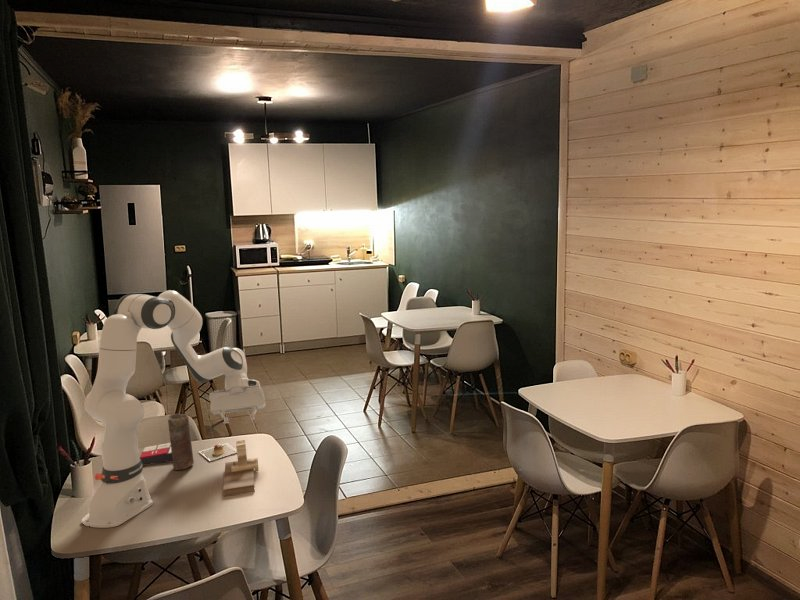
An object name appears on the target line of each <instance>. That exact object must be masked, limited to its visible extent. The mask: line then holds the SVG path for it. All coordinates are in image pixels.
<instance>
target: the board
mask: <svg viewBox="0 0 800 600" xmlns="http://www.w3.org/2000/svg"><path fill="white" fill-rule="evenodd" d="M248 459H249V458H247V460H248ZM235 461H236V460H235ZM235 461H227V462H225V463H224V464H225V465H224V475H223V476H224V477H223V488H222V490H223V497H230V496H237V495H244V494H248V493H255V491H256V490H255V489H254V488H255V469H248V470H242V471H235V472H232V471H231V465H232V462H235Z"/></svg>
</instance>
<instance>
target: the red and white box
mask: <svg viewBox="0 0 800 600" xmlns="http://www.w3.org/2000/svg"><path fill="white" fill-rule="evenodd" d="M139 457H140V459H141V461H142V466H144V465H143V464H150V465H152V464H151V463H157V464H162V463H161V462H163V463H167V462H170V461H172V462H173V460H172V452H171V442H166V443H162V444H161V443H160V444H158V445H157V444H156V445H149V446H145V447H144V448H143V450H142V452H141V454H140V455H139ZM170 463H171V462H170Z"/></svg>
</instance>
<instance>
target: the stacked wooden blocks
mask: <svg viewBox="0 0 800 600" xmlns="http://www.w3.org/2000/svg"><path fill="white" fill-rule="evenodd" d="M235 443H236V444H235V446H236V448H235V449H236V450H237V453H236V454H237V455H236V456H237V460H235V462H233V461H231V462H232V465H231V471H232V472H235V471H242V470H248V469H254V473H255V472H259V461H258V457H256V458H248V456H247V455H248V454H247V448H246V447H247V446H246V440H245V439H244V440H243V439H242V440H238V441H237V440H236V442H235ZM247 459H248V460H247Z"/></svg>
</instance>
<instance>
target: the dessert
mask: <svg viewBox="0 0 800 600" xmlns="http://www.w3.org/2000/svg"><path fill="white" fill-rule="evenodd" d="M223 445H227V447H226V448H228V447H229V448H230V449H232V450H233V451H235V453H234V452H233V451H232V450H231V451H232V453H229V454H227V455H224V454H225V453H224V452H225V449H224V447H222V446H223ZM212 448H214V450H212V455H213V454H214V455H213V456H219V457H217V458H214V459H211V458H209V457H208V456H207V455H206V454H204V453H203V454H202V453H201V452H202V451H206V450H209V449H212ZM229 448H228V449H229ZM230 449H229V450H230ZM198 453H199V454H200V455H201V456H203V457H204V458H205V459H206V460H207V461H209V462H213V461H216V460H218V459H219V458H220V459H223V458H225V456H226V457H228V456H229V457H230V456H232V455H234V454H235V455H236V454H237V448H235V447H234V446H232V445H231V444H229V442H225V443H222V444H221V443H219V442H218V443H216V444H214V446H212V447H209V448H205V449H203V450H200V451H198ZM223 453H224V454H223ZM220 454H222V455H224V456H221V455H220ZM231 454H232V455H231ZM205 455H206V456H207V457H208V458H207V457H206V456H205ZM222 457H223V458H222ZM210 459H211V460H210Z"/></svg>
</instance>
